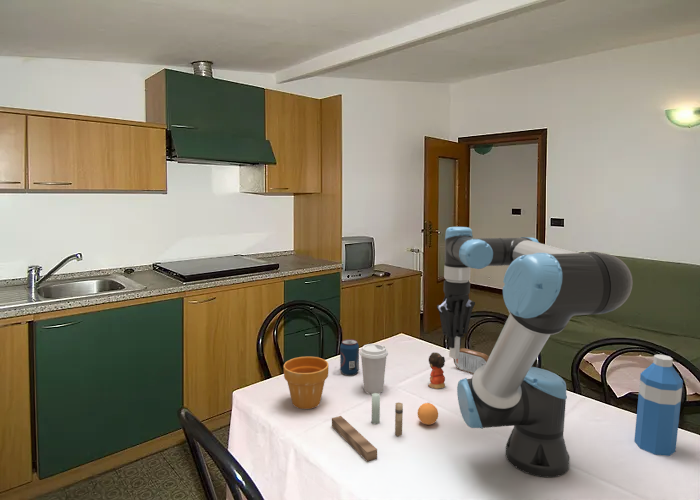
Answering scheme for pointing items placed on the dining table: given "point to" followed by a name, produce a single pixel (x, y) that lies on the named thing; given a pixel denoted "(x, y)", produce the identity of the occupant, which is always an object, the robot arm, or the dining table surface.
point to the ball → (427, 413)
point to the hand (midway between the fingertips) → (454, 357)
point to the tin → (470, 360)
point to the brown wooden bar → (354, 438)
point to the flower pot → (306, 380)
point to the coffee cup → (373, 367)
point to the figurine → (436, 371)
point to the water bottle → (658, 407)
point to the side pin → (375, 408)
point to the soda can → (349, 357)
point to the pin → (398, 419)
